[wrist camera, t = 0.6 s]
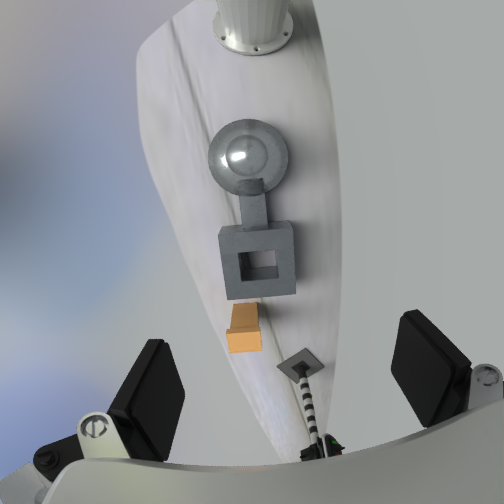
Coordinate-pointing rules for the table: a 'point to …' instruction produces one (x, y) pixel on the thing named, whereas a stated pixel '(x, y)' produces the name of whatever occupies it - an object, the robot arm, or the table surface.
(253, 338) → the tan flared block
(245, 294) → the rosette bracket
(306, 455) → the miniature traffic light
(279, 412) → the table surface
